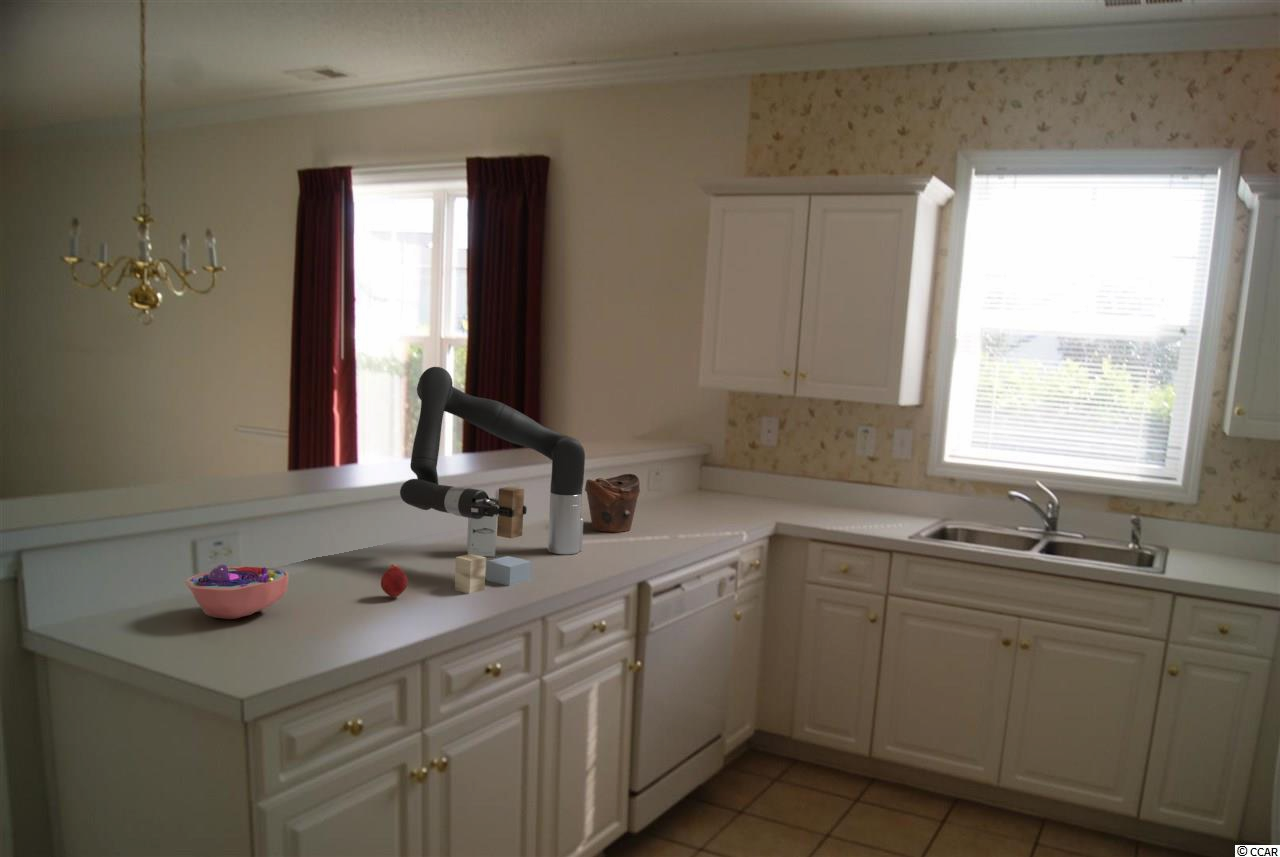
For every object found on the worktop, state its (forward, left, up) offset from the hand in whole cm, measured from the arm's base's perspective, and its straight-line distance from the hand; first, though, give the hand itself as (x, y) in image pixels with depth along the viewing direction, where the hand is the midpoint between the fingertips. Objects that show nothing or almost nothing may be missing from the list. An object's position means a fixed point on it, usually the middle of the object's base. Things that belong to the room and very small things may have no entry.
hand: (519, 511), depth 219 cm
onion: (+32, -5, -18) cm, 37 cm away
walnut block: (+1, -3, -6) cm, 7 cm away
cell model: (+64, -12, -18) cm, 67 cm away
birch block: (+14, -1, -18) cm, 23 cm away
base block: (+1, -3, -18) cm, 18 cm away
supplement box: (-9, -29, -18) cm, 35 cm away
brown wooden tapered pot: (-65, -35, -18) cm, 76 cm away
